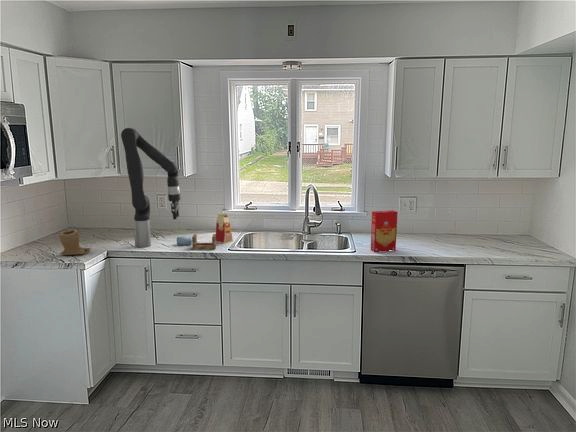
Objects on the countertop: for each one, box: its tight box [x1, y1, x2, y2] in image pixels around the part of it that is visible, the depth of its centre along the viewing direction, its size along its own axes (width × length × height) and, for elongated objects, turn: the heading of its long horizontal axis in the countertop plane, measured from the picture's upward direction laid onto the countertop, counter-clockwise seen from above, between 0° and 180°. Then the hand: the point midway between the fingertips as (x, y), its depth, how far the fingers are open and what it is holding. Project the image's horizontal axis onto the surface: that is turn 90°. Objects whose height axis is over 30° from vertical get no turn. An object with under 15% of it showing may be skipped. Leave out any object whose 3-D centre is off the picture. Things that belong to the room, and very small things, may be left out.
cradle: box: [191, 233, 217, 251], centre depth 281 cm, size 14×9×8 cm, turn 94°
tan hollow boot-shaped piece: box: [59, 229, 91, 256], centre depth 263 cm, size 15×12×15 cm
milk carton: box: [215, 212, 234, 245], centre depth 297 cm, size 9×9×20 cm
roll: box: [176, 236, 193, 246], centre depth 289 cm, size 10×6×6 cm, turn 94°
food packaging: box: [370, 210, 398, 253], centre depth 276 cm, size 15×5×25 cm, turn 106°
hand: (176, 217), depth 285 cm, fingers open, 8 cm apart
